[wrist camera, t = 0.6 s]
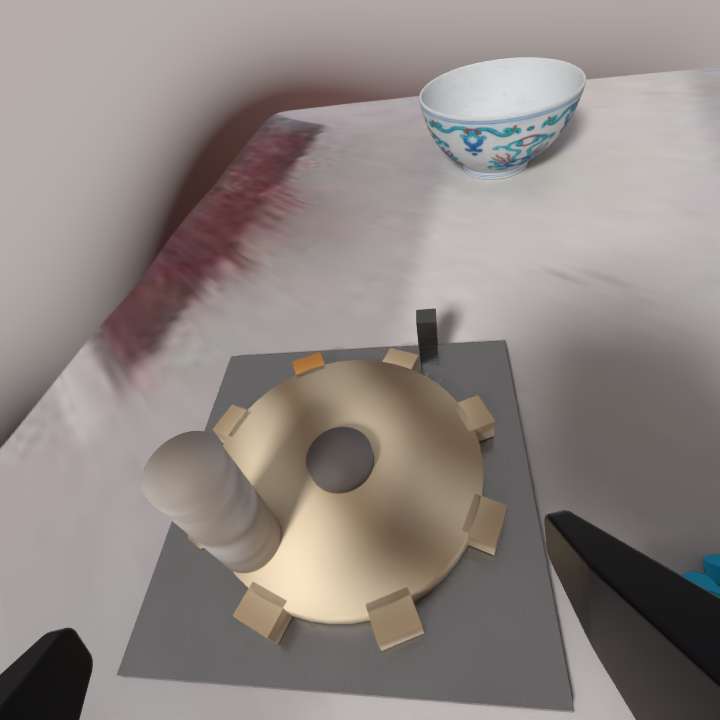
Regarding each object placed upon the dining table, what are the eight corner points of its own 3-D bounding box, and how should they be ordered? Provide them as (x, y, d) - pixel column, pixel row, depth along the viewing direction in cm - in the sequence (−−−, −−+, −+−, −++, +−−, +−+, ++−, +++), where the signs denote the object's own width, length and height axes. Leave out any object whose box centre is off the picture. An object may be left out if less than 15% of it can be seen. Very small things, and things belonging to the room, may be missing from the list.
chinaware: (580, 196, 41) (598, 106, 36) (418, 205, 45) (411, 125, 39) (562, 128, 51) (574, 48, 45) (429, 140, 55) (426, 68, 49)
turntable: (362, 329, 34) (337, 222, 27) (568, 473, 24) (609, 360, 17) (158, 477, 28) (64, 387, 21) (317, 750, 18) (233, 742, 11)
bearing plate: (572, 712, 18) (597, 700, 14) (122, 676, 21) (60, 660, 18) (503, 345, 31) (508, 295, 28) (233, 360, 34) (209, 318, 31)
